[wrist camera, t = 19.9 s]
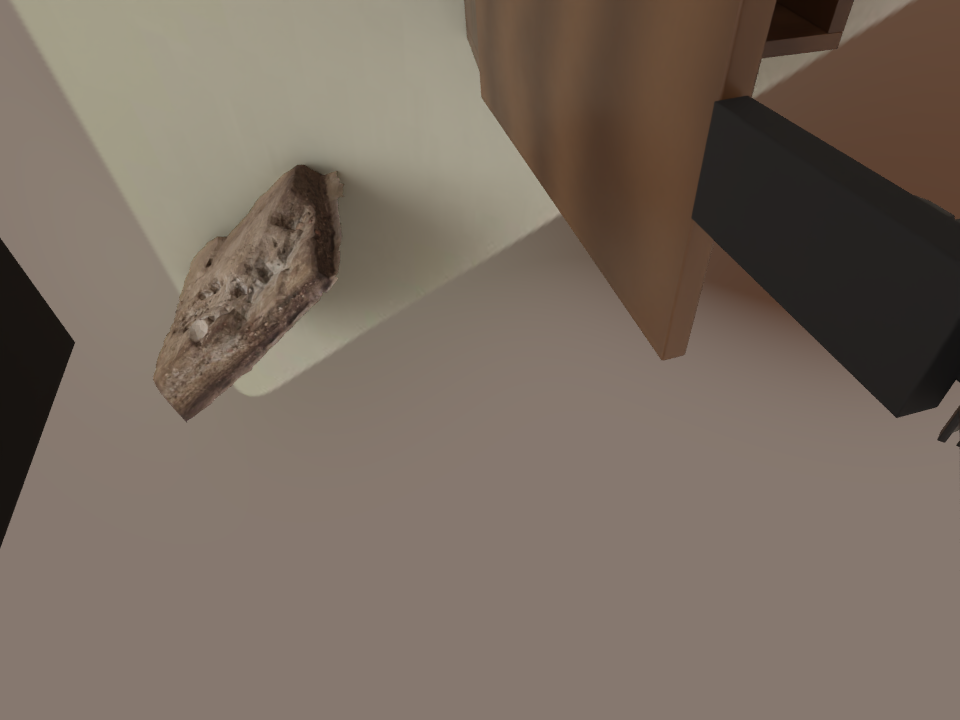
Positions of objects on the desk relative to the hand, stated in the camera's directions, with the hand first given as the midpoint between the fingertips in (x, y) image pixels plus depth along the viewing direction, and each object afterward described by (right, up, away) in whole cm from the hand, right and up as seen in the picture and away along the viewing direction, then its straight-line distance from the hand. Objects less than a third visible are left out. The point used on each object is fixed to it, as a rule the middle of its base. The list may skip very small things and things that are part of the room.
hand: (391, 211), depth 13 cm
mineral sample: (-15, +7, +34) cm, 38 cm away
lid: (+5, +9, +8) cm, 13 cm away
